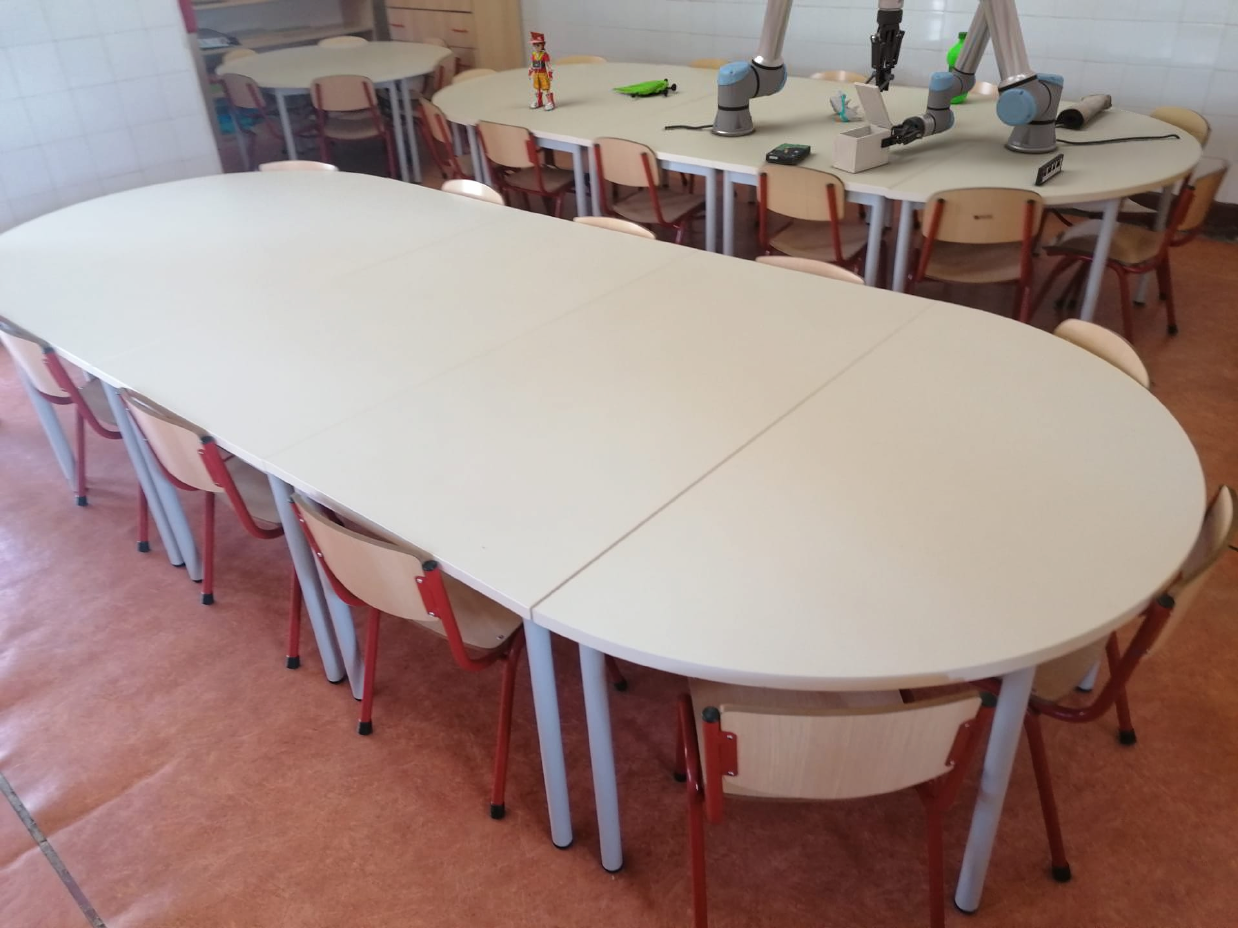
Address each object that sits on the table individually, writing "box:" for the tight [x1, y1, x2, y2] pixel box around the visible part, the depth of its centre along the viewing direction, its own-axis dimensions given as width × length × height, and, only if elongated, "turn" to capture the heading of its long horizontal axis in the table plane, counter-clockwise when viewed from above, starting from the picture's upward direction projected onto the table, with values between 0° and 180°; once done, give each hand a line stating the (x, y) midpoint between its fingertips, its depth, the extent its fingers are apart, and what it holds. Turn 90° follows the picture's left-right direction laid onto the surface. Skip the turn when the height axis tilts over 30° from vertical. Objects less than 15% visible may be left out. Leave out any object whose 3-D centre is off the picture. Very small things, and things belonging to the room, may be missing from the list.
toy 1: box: [527, 31, 556, 111], centre depth 374 cm, size 12×9×30 cm
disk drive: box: [765, 142, 812, 165], centre depth 304 cm, size 10×3×15 cm
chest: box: [832, 124, 891, 174], centre depth 292 cm, size 16×9×11 cm, turn 124°
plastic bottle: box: [946, 31, 969, 104], centre depth 348 cm, size 10×10×25 cm
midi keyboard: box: [1035, 153, 1065, 186], centre depth 273 cm, size 18×1×5 cm, turn 138°
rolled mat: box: [1055, 93, 1113, 130], centre depth 324 cm, size 30×9×10 cm
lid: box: [853, 70, 895, 129], centre depth 287 cm, size 16×9×9 cm
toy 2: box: [612, 78, 677, 99], centre depth 396 cm, size 28×5×30 cm
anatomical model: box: [829, 90, 864, 122], centre depth 342 cm, size 15×10×10 cm
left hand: (881, 91), depth 285 cm, fingers closed on lid, 2 cm apart
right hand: (870, 140), depth 293 cm, fingers closed on chest, 9 cm apart
